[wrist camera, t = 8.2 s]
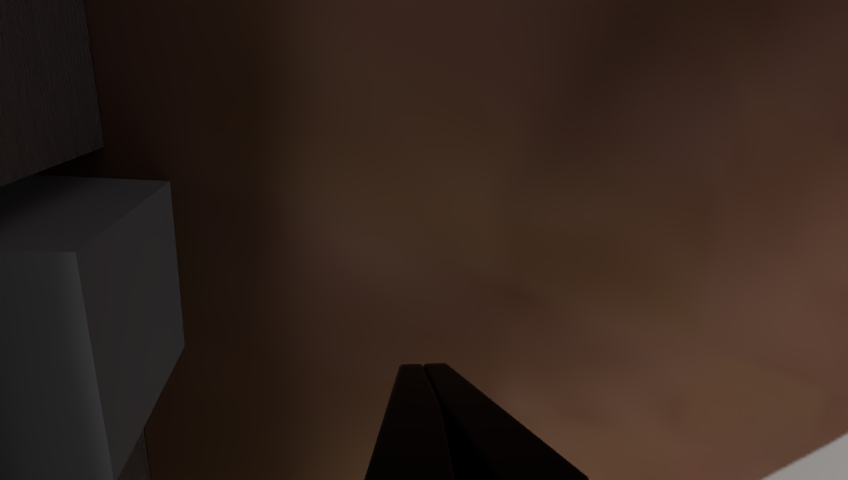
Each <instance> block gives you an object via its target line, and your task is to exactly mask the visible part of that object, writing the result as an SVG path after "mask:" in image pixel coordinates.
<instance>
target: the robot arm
mask: <svg viewBox="0 0 848 480" xmlns="http://www.w3.org/2000/svg"><path fill="white" fill-rule="evenodd" d="M364 480H589V478H588V477H587V476H586V475H585V474H583V473H582V472H581V471H580V470H578V469H577V468H576V467H575V466H573V465H572V464H571V463H570V462H568V461H567V460H566V459H565V458H563V457H562V456H561V455H560V454H558V453H557V452H556V451H555V450H553V449H552V448H551V447H550V446H548V445H547V444H546V443H545V442H543V441H542V440H541V439H540V438H538V437H537V436H536V435H535V434H533V433H532V432H531V431H530V430H528V429H527V428H526V427H525V426H524V425H522V424H521V423H520V422H519V421H517V420H516V419H515V418H514V417H512V416H511V415H510V414H509V413H507V412H506V411H505V410H504V409H502V408H501V407H500V406H499V405H497V404H496V403H495V402H494V401H492V400H491V399H490V398H489V397H487V396H486V395H485V394H484V393H482V392H481V391H480V390H479V389H477V388H476V387H475V386H474V385H472V384H471V383H470V382H469V381H467V380H466V379H465V378H464V377H462V376H461V375H460V374H459V373H457V372H456V371H455V370H454V369H452V368H451V367H450V366H449V365H447V364H445V363H431V364H425V365H424V366H422V365H421V364H403V365H401V366H400V367H399V370H398V373H397V376H396V379H395V383H394V386H393V389H392V392H391V395H390V399H389V402H388V405H387V408H386V411H385V415H384V418H383V421H382V424H381V428H380V431H379V434H378V437H377V440H376V444H375V447H374V450H373V453H372V457H371V460H370V463H369V466H368V469H367V473H366V476H365V479H364Z"/></svg>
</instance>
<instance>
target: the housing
mask: <svg viewBox="0 0 848 480" xmlns="http://www.w3.org/2000/svg"><path fill="white" fill-rule="evenodd" d="M102 147H104V142H103V134H102V127H101V120H100V113H99V106H98V98H97V91H96V84H95V77H94V70H93V62H92V55H91V48H90V41H89V34H88V26H87V19H86V12H85V5H84V0H0V187H1V186H4V185H6V184H9V183H11V182H14V181H17V180H19V179H22V178H24V177H27V176H30V175H32V174H35V173H37V172H40V171H42V170H45V169H48V168H50V167H53V166H55V165H58V164H61V163H63V162H66V161H68V160H71V159H74V158H76V157H79V156H81V155H84V154H87V153H89V152H92V151H94V150H97V149H100V148H102ZM117 480H150V473H149V466H148V458H147V451H146V444H145V437H144V430H142V432H141V434H140V436H139V438H138V440H137V442H136V444H135V446H134V448H133V450H132V452H131V454H130V456H129V458H128V460H127V462H126V464H125V466H124V468H123V470H122V472H121V473H120V475H119V477H118V479H117Z"/></svg>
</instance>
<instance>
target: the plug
mask: <svg viewBox="0 0 848 480" xmlns="http://www.w3.org/2000/svg"><path fill="white" fill-rule="evenodd" d="M184 347H185V341H184V330H183V319H182V308H181V297H180V286H179V275H178V263H177V252H176V241H175V230H174V219H173V208H172V197H171V186H170V181H158V180H137V179H115V178H94V177H72V176H51V175H30V176H27V177H24V178H22V179H19V180H17V181H14V182H11V183H9V184H6V185H4V186H1V187H0V480H117V479H118V477H119V475H120V473H121V472H122V470H123V468H124V466H125V464H126V462H127V460H128V458H129V456H130V454H131V452H132V450H133V448H134V446H135V444H136V442H137V440H138V438H139V436H140V434H141V432H142V430H143V428H144V426H145V424H146V422H147V420H148V418H149V416H150V414H151V412H152V410H153V408H154V406H155V404H156V402H157V400H158V398H159V396H160V394H161V392H162V390H163V388H164V386H165V384H166V382H167V380H168V378H169V377H170V375H171V373H172V371H173V369H174V367H175V365H176V363H177V361H178V359H179V357H180V355H181V353H182V351H183V349H184Z"/></svg>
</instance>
